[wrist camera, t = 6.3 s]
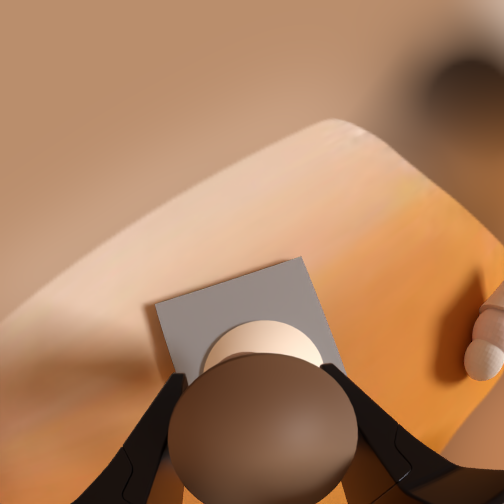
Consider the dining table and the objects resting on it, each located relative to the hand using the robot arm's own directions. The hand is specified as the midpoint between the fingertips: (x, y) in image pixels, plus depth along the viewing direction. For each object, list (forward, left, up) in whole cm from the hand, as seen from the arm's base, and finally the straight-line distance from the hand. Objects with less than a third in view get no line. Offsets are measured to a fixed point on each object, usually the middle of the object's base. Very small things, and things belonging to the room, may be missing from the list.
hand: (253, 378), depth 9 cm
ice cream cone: (-7, -25, -14) cm, 29 cm away
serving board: (-2, -1, -13) cm, 14 cm away
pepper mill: (-1, 0, -7) cm, 7 cm away
